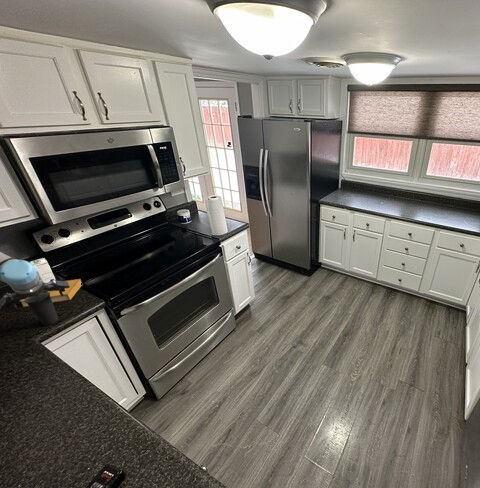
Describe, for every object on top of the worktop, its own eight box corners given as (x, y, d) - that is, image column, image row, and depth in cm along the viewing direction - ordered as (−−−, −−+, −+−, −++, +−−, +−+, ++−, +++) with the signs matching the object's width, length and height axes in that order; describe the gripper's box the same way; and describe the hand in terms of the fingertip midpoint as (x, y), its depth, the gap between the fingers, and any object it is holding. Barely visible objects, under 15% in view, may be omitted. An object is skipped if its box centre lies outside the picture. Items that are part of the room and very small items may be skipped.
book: (23, 307, 125) (19, 301, 123) (39, 290, 137) (36, 284, 135) (70, 299, 131) (67, 293, 129) (82, 284, 142) (80, 279, 141)
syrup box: (40, 285, 141) (28, 261, 134) (55, 280, 145) (44, 257, 139) (43, 289, 138) (31, 265, 131) (58, 284, 142) (47, 260, 136)
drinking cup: (45, 329, 113) (24, 291, 104) (34, 325, 115) (12, 287, 106) (66, 318, 119) (47, 281, 110) (55, 313, 121) (36, 277, 112)
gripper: (-22, 310, 87) (-2, 323, 102) (76, 279, 105) (81, 294, 120) (-31, 290, 88) (-9, 306, 103) (68, 263, 105) (74, 280, 120)
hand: (39, 300), depth 111 cm, fingers open, 13 cm apart
